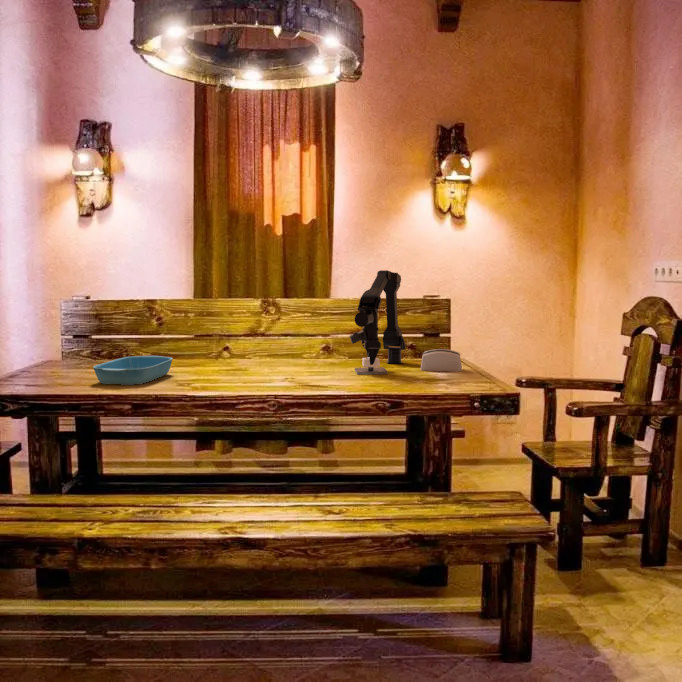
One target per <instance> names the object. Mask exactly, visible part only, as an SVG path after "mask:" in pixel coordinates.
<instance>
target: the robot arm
mask: <svg viewBox="0 0 682 682" xmlns="http://www.w3.org/2000/svg"><path fill="white" fill-rule="evenodd" d="M401 282H402V277H401V275H400V274H399V273H398V272H393V271H391V270H386V269H385V270H378V271H377V272H376V277H375V279H374V280H373V283H372V284H371V286H370V288H369V289H367V290H365V291H364V292H363V293H362V295H361V296H360V299H359V302H358V307H357V313H356V315H354V316H355V317H354V323H355V325H356V326H358V327H360V328H362V330H361V331H356V332H353V333H352V334H350V335H349V339H350V342H351V344H352V345H354V344H357V343H358V342H360V343H361V345H362V347H363V348H364V349H365V351H366V356H367V358H368V357H369V360H370V365H373V364H374V361H375V359H376V358H377V356H378V354H379V351H380V350H381V348H382V345H383V350H387V360H386V363H387V364H388V365H389V364H391V365H392V364H394V365H395V364H397V365H398V364H399V365H401V364H404V362H403V361H402V350H404V351H405V350H406V347H407V346H406V345H407V344H406V342H405V338H404V336H403V331H402V329H401V328H400V327H399V323H398V322H399V320H398V319H399V318H398V291H399V289H400V288H401ZM382 292H384V293H385V308H386V310H385V311H386V328H385V330H384V331H383V333H382V334H383V335H382V343H381V342H380V341H379V340H380V339H379V313H380V310H379V309H380V307H381V303H382V299H381V298H382V297H381V295H382Z"/></svg>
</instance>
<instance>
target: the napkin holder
mask: <svg viewBox="0 0 682 682" xmlns="http://www.w3.org/2000/svg"><path fill="white" fill-rule="evenodd" d="M461 359H462V358H461V354H460V352H459V351H456V350H454V349H447V348H436V349H435V348H434V349H429V350H425V351H424V352H422V357H421V362H420V363H421V364H420V371H428V372H429V371H431V372H432V371H433V372H435V371H437V372H440V371H441V372H463V369H462V368H463V366H462V365H463V364H462V360H461Z"/></svg>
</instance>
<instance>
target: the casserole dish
mask: <svg viewBox="0 0 682 682" xmlns="http://www.w3.org/2000/svg"><path fill="white" fill-rule="evenodd" d="M172 361H173V357H171V356H163V355H136V356H132V355H131V356H124V357H120V358H116V359H113V360H110V361H105V362H103V363H98V364H96V365H94V366H92V367H93V371H94V374H95V376H96V378H97V380H98V382H100V383H101V384H102V385H106V384H121V385H120V386H135V385H134V384H139V385H142V384H143V383H144V384H147V383H149V381H150V382H153V381H155V380H158V379H160V378H162V376H163V377H164V375H165V376H166V375H167V374H168V373H169V372H170V369H171V366H172V363H173V362H172ZM159 377H160V378H159ZM157 378H158V379H157ZM154 379H155V380H154ZM152 380H153V381H152ZM146 382H147V383H146ZM144 384H143V385H144Z"/></svg>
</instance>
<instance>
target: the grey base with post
mask: <svg viewBox="0 0 682 682" xmlns="http://www.w3.org/2000/svg"><path fill="white" fill-rule="evenodd" d="M367 358H368V359H369V357H368V356H367ZM354 371H355V373H356V375H359V376H360V375H388V370H387V369H386V368H385V367H382V366H381V367H354Z"/></svg>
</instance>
